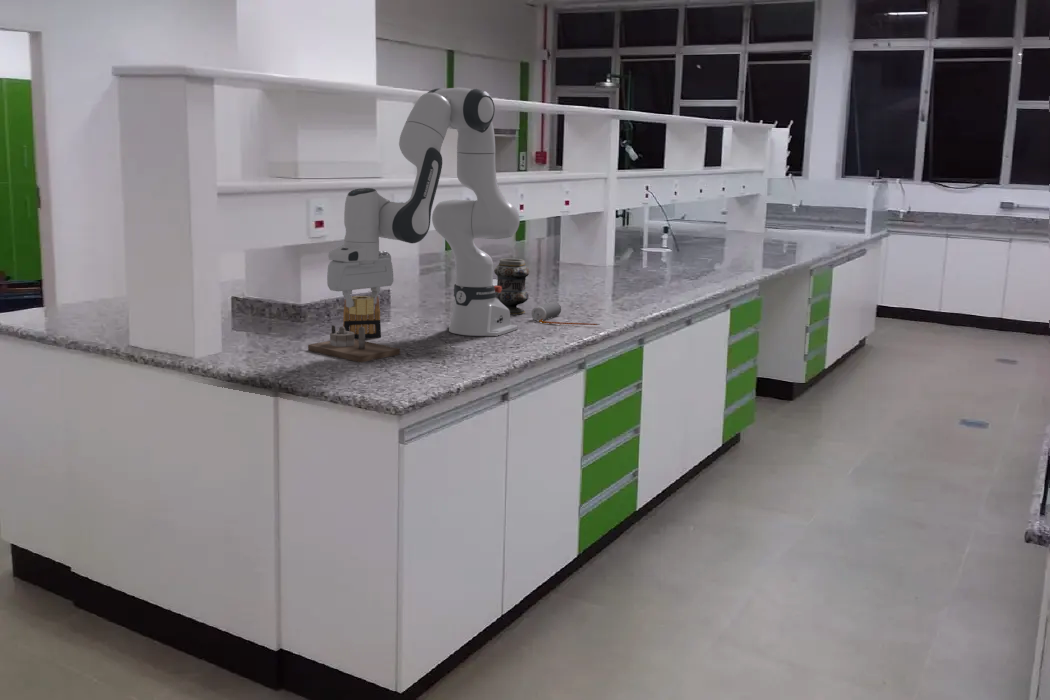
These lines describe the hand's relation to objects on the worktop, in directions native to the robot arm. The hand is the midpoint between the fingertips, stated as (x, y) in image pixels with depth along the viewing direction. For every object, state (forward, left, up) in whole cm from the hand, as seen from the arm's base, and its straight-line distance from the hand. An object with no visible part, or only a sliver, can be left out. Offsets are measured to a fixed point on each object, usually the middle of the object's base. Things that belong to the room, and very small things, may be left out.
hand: (361, 305), depth 244 cm
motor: (-85, +9, -14) cm, 86 cm away
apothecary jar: (-81, -14, -13) cm, 84 cm away
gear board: (0, -3, -13) cm, 13 cm away
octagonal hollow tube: (0, 0, -2) cm, 2 cm away
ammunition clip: (-15, -16, -13) cm, 26 cm away
